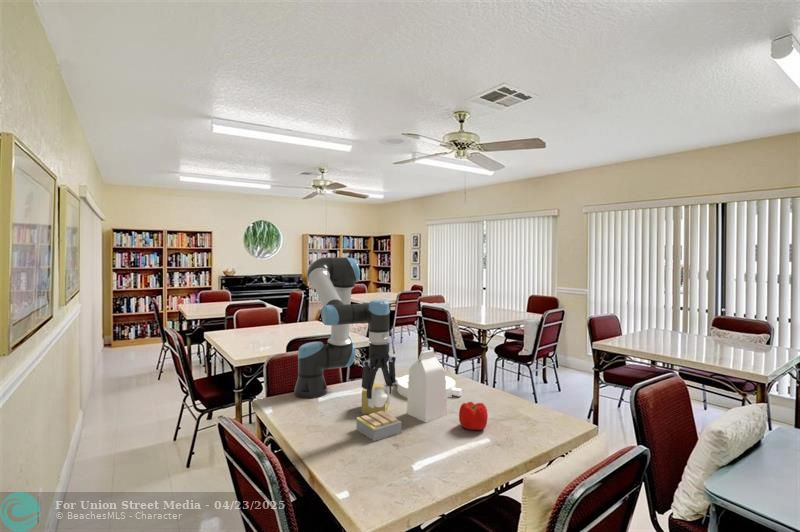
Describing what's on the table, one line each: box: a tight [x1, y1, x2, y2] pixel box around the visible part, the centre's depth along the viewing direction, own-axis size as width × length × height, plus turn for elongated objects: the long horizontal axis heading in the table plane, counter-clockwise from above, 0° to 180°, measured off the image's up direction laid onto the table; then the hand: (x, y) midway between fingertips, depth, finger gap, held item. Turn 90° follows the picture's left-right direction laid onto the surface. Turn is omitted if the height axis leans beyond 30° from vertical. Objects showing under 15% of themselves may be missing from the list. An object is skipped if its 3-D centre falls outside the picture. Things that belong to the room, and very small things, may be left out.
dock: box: [356, 411, 402, 442], centre depth 148 cm, size 12×12×5 cm
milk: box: [406, 349, 448, 423], centre depth 164 cm, size 12×12×26 cm
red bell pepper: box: [458, 401, 489, 431], centre depth 152 cm, size 11×12×9 cm
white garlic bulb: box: [374, 387, 387, 407], centre depth 147 cm, size 6×6×7 cm
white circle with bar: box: [393, 374, 463, 399], centre depth 194 cm, size 28×28×5 cm
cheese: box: [361, 382, 390, 415], centre depth 168 cm, size 10×11×10 cm
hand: (378, 404), depth 148 cm, fingers closed on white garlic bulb, 6 cm apart
